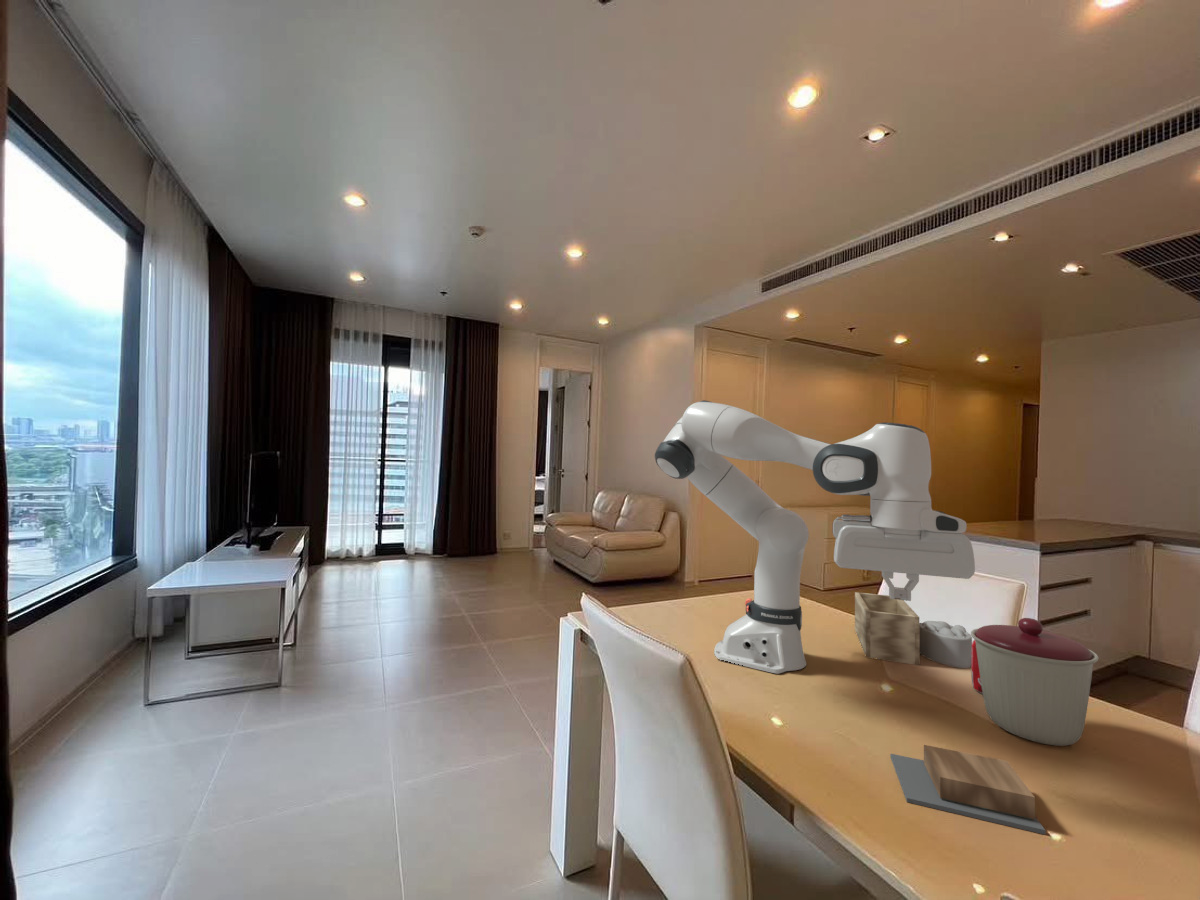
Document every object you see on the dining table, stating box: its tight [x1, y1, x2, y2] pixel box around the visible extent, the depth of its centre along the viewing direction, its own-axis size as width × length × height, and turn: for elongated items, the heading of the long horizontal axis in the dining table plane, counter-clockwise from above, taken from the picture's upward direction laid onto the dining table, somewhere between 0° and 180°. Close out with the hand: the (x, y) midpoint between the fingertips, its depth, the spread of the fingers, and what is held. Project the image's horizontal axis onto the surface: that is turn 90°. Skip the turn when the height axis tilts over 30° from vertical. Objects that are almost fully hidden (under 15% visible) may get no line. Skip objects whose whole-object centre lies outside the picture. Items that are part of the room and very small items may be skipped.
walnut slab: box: [923, 744, 1036, 820], centre depth 72 cm, size 3×9×11 cm
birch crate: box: [854, 591, 921, 666], centre depth 134 cm, size 12×22×12 cm, turn 159°
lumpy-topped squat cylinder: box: [919, 620, 973, 669], centre depth 127 cm, size 10×13×9 cm
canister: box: [970, 617, 1099, 747], centre depth 92 cm, size 18×18×21 cm
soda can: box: [970, 639, 983, 696], centre depth 107 cm, size 7×7×12 cm
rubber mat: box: [889, 753, 1046, 835], centre depth 73 cm, size 16×12×1 cm
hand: (899, 599), depth 81 cm, fingers closed
